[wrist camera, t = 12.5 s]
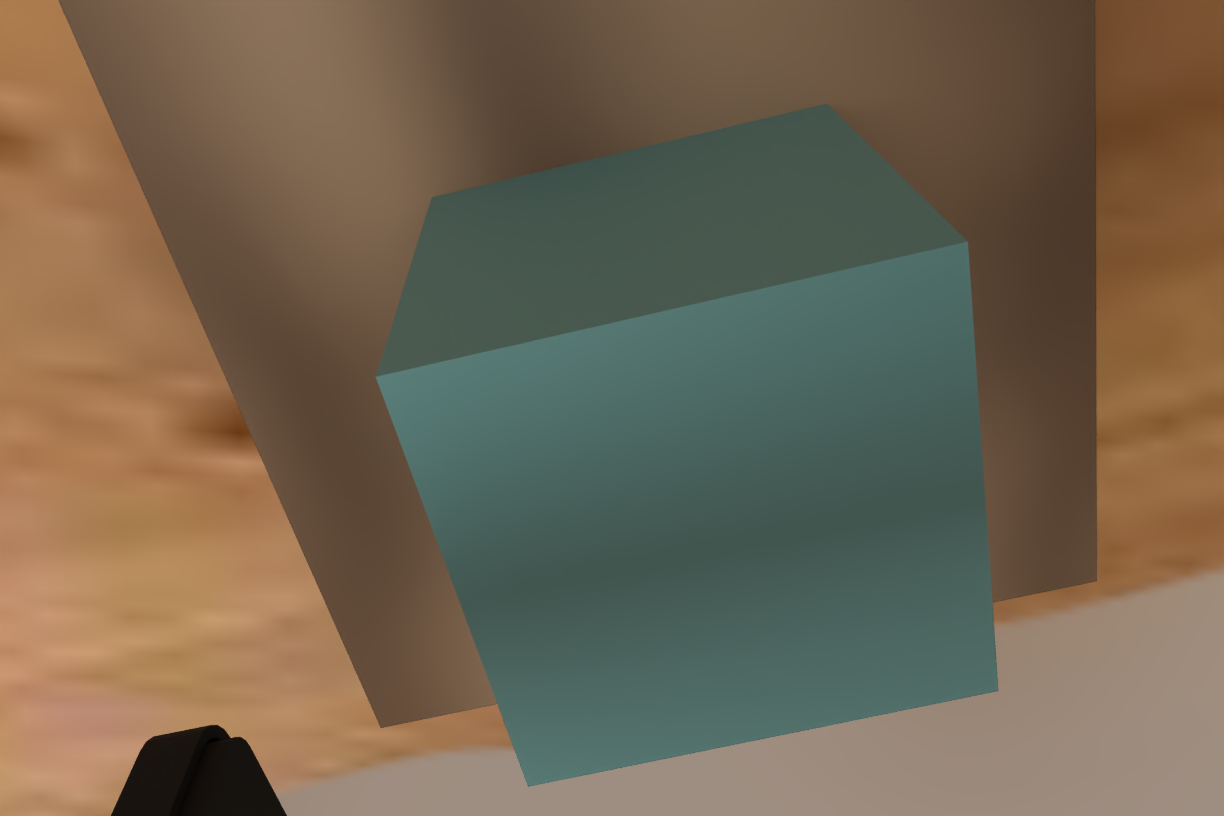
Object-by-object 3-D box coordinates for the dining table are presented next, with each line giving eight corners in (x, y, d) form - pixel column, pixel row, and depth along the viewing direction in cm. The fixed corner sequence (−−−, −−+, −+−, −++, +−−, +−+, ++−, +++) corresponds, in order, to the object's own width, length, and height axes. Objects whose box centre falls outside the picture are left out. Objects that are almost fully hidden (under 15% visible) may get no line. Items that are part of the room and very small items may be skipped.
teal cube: (827, 103, 16) (967, 241, 10) (870, 446, 19) (999, 690, 13) (431, 197, 16) (375, 377, 11) (533, 519, 19) (528, 786, 14)
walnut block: (960, -252, 18) (1094, -278, 14) (998, 447, 25) (1096, 581, 20) (166, -53, 19) (50, -18, 14) (409, 572, 25) (381, 727, 21)
